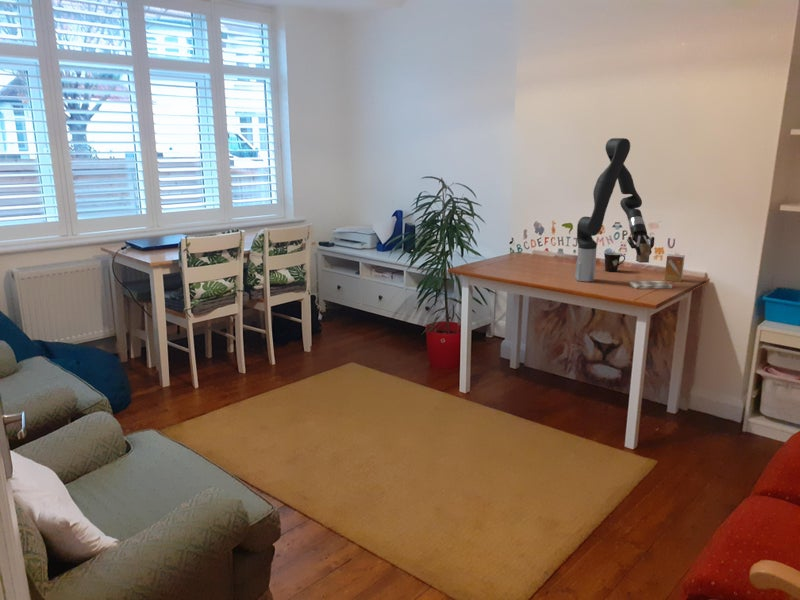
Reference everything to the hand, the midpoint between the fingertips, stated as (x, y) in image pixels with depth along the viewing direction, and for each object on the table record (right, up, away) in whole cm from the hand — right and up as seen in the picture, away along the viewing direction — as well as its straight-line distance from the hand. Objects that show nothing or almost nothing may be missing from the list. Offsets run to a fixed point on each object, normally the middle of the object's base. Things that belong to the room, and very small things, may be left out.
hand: (644, 254), depth 313 cm
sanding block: (0, -4, +3) cm, 5 cm away
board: (+3, -16, +1) cm, 16 cm away
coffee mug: (-3, -7, +37) cm, 38 cm away
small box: (+21, -13, +14) cm, 28 cm away
